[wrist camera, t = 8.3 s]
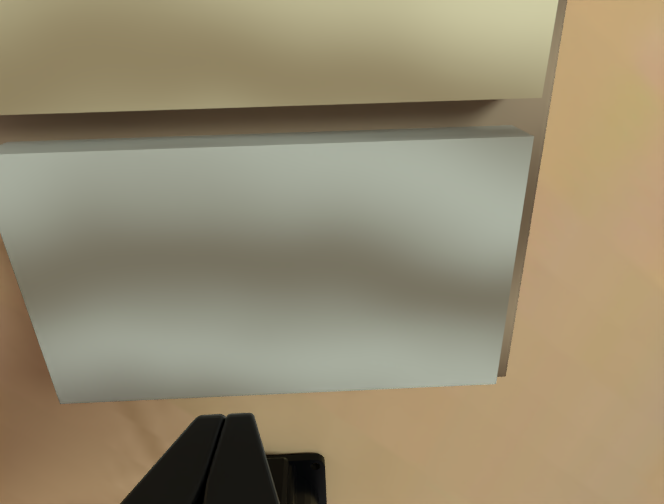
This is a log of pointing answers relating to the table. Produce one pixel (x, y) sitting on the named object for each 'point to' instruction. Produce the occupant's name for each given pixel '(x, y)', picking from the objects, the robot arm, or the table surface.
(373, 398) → the table surface
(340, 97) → the pale yellow square slab
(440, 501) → the table surface
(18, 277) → the floor base
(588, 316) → the table surface
